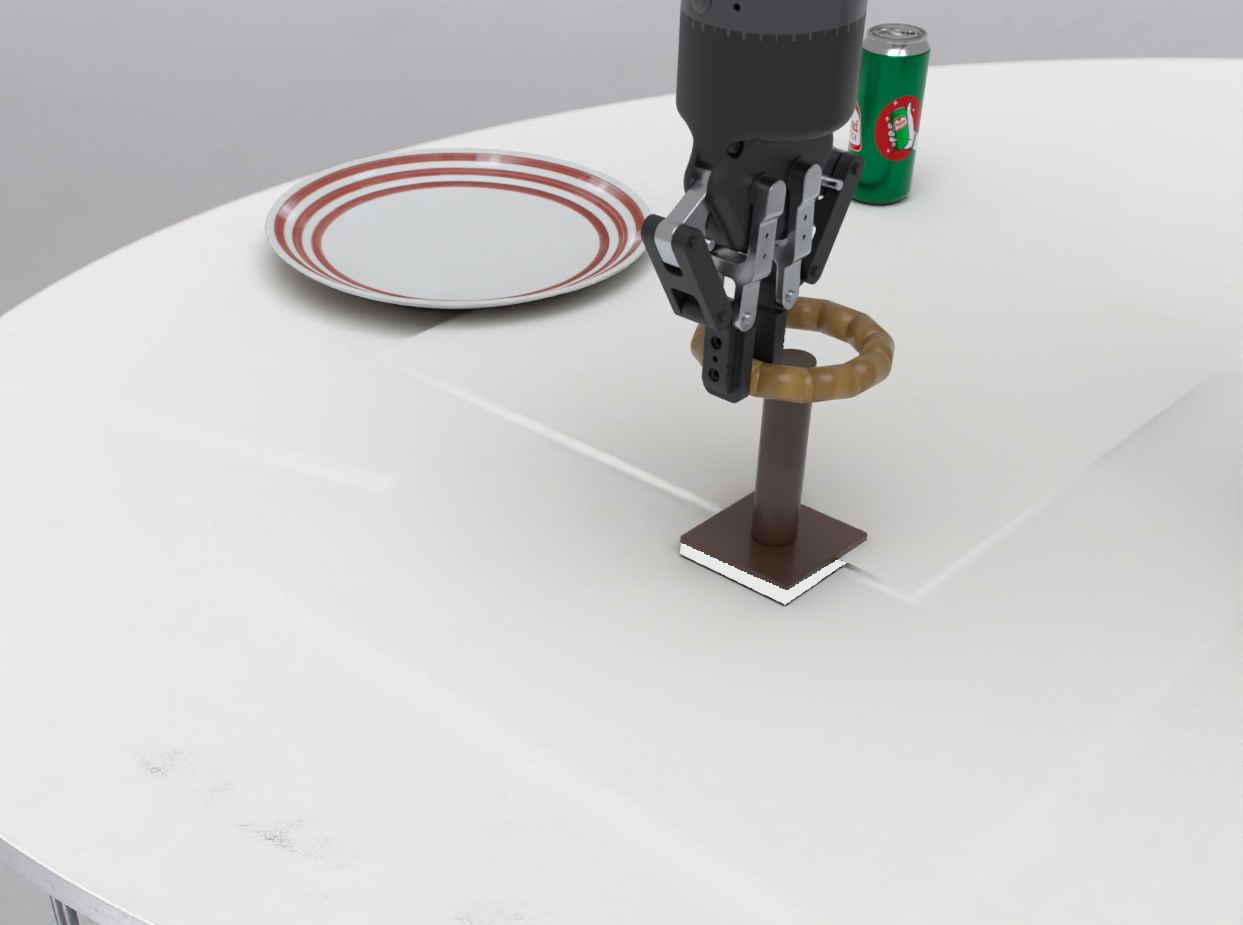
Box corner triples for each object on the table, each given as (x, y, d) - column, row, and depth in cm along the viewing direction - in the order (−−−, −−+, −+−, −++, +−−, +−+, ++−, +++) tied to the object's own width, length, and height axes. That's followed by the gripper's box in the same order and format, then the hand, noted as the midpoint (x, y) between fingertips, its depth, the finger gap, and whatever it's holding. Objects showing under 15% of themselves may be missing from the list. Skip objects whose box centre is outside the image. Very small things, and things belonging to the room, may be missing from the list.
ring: (771, 304, 84) (775, 274, 83) (929, 363, 79) (935, 332, 78) (651, 360, 79) (653, 329, 78) (812, 428, 74) (816, 396, 73)
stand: (759, 504, 90) (777, 315, 83) (865, 551, 86) (893, 357, 79) (678, 555, 86) (690, 360, 79) (785, 606, 82) (807, 407, 75)
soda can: (849, 179, 127) (868, 18, 120) (914, 186, 126) (937, 24, 119) (837, 202, 124) (856, 38, 116) (903, 210, 122) (927, 44, 115)
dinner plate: (711, 223, 121) (714, 178, 119) (545, 374, 102) (545, 325, 100) (395, 166, 131) (392, 124, 129) (192, 295, 112) (185, 248, 110)
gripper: (741, 56, 60) (711, 468, 71) (946, -20, 68) (890, 363, 78) (591, 17, 64) (584, 412, 75) (799, -50, 72) (766, 318, 83)
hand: (741, 386), depth 77 cm, fingers closed on ring, 1 cm apart
